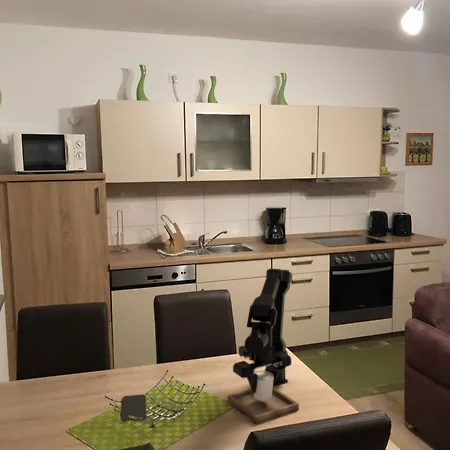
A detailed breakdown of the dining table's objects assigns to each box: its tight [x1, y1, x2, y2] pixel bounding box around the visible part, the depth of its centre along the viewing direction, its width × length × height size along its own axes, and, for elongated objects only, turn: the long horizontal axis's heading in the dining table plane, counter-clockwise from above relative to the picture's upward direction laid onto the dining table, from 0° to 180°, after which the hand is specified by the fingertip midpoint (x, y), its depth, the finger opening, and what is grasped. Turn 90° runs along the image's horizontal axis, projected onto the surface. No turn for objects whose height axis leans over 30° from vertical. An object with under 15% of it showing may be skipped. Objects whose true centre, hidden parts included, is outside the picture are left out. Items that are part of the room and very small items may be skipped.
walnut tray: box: [227, 386, 300, 425], centre depth 150 cm, size 16×16×2 cm
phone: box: [121, 394, 147, 422], centre depth 149 cm, size 7×1×15 cm
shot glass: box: [254, 370, 274, 401], centre depth 149 cm, size 7×7×7 cm
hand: (262, 390), depth 149 cm, fingers closed on shot glass, 6 cm apart
